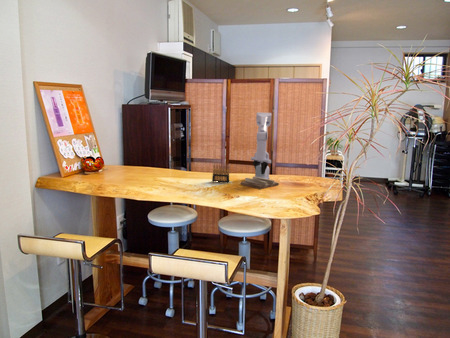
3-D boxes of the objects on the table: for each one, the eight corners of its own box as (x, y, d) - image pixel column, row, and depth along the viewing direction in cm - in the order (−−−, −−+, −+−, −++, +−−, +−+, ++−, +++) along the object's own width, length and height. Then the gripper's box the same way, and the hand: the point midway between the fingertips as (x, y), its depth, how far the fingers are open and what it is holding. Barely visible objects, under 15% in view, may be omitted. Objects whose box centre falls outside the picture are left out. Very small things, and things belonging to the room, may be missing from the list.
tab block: (259, 174, 233) (259, 165, 232) (264, 175, 231) (264, 166, 230) (255, 175, 231) (255, 166, 229) (260, 176, 228) (260, 166, 227)
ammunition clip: (212, 181, 235) (212, 163, 233) (212, 181, 237) (213, 162, 235) (228, 183, 233) (229, 164, 231) (229, 182, 235) (230, 163, 233)
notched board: (258, 180, 244) (258, 175, 243) (278, 185, 233) (278, 179, 232) (240, 184, 231) (240, 178, 230) (260, 189, 220) (260, 183, 219)
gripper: (247, 150, 230) (246, 172, 232) (266, 153, 220) (265, 175, 223) (255, 149, 235) (254, 171, 238) (273, 152, 225) (272, 174, 228)
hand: (260, 173), depth 230 cm, fingers closed on tab block, 4 cm apart
